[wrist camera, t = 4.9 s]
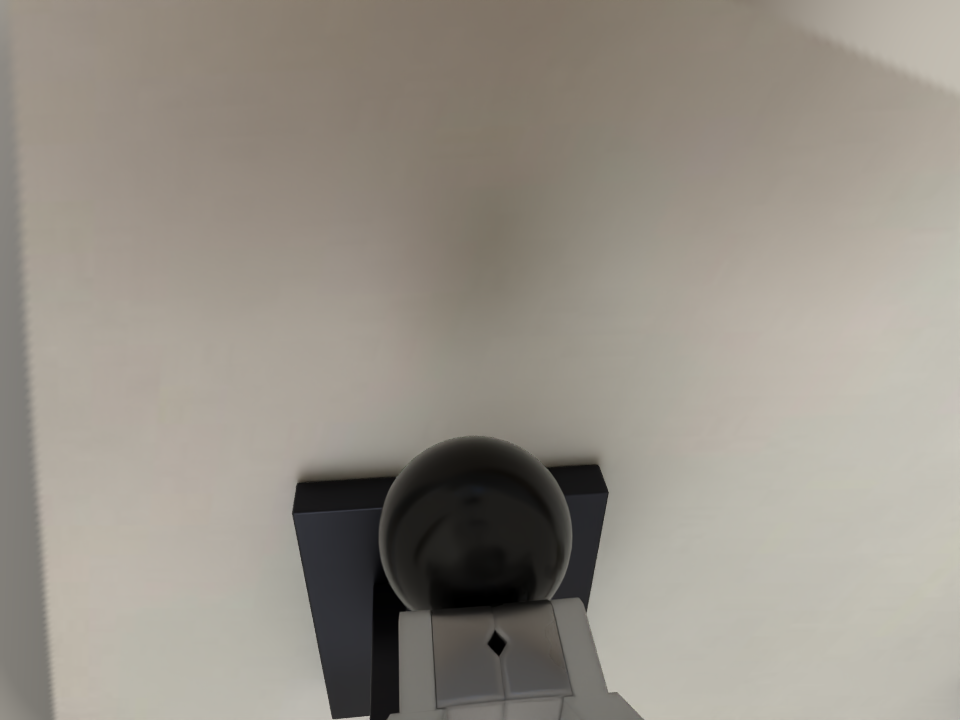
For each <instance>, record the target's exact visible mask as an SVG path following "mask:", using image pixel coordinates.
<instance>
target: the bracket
mask: <svg viewBox="0 0 960 720" xmlns="http://www.w3.org/2000/svg"><path fill="white" fill-rule="evenodd" d="M547 469H548V470H549V471H550V473H551V474H552V475H553V477H554V478H555V480H556V481H557V483H558V485H559V487H560V488H561V490H562V492H563V494H564V497H565V499H566V502H567V505H568V508H569V512H570V517H571V524H572V549H571V554H570V560H569V564H568V567H567V570H566V573H565V576H564V578H563V580H562V582H561V584H560V586H559V588H558V589H557V591H556V592H555V594H554V595H553V597H552V598H551V599H550V600H555V599H565V598H575V597H578V598H580V600H581V601H582V602H583V604H584V607H585V611H586V612H587V607H588V602H589V596H590V591H591V585H592V580H593V575H594V569H595V564H596V558H597V553H598V548H599V542H600V537H601V531H602V526H603V521H604V515H605V510H606V504H607V499H608V494H609V492H608V489H607V486H606V484H605V481H604V478H603V475H602V473H601V470H600V467H599V465H585V466H568V467H552V468H547ZM395 479H396V477H387V478H370V479H354V480H337V481H321V482H304V483H297V485H296V492H295V498H294V504H293V511H292V515H293V520H294V525H295V530H296V535H297V540H298V546H299V551H300V556H301V561H302V566H303V571H304V576H305V581H306V587H307V592H308V597H309V602H310V607H311V612H312V617H313V623H314V628H315V633H316V638H317V643H318V648H319V653H320V658H321V664H322V669H323V674H324V679H325V684H326V689H327V694H328V699H329V705H330V710H331V715H332V719H341V718H352V717H362V716H370V720H387V719H388V717H389V715H390V714H395V713H400V708H399V614H400V612H406V611H410V610H409V609H408V608H407V607H406V606H405V605H404V604H403V603H402V602H401V600H400V599H399V598H398V597H397V595H396V594H395V592H394V591H393V589H392V587H391V586H390V584H389V582H388V579H387V577H386V575H385V572H384V570H383V567H382V563H381V559H380V554H379V546H378V525H379V519H380V514H381V510H382V507H383V504H384V500H385V498H386V495H387V493H388V491H389V489H390V487H391V485H392V484H393V482H394V480H395Z"/></svg>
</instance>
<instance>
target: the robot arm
mask: <svg viewBox="0 0 960 720" xmlns="http://www.w3.org/2000/svg"><path fill="white" fill-rule="evenodd" d="M399 708H400V713H395V714H390V715H389V717H388V719H387V720H644V719H643V718H642V717H641V716H640V715H639V714H638V713H637V712H636V711H635V710H634V709H633V708H632V707H631V706H630V705H629V704H628V703H627V702H626V701H625V700H624V699H623V698H622V697H621V696H620V695H619V694H618V692H614V693H608V690H607V686H606V683H605V679H604V675H603V672H602V668H601V665H600V661H599V658H598V654H597V650H596V647H595V643H594V640H593V636H592V632H591V629H590V625H589V622H588V618H587V614H586V611H585V607H584V604H583V602H582V601H581V600H580V598H578V597H575V598H565V599H555V600H548V599H545V600H535V601H524V602H514V603H504V604H494V605H490V606H479V607H465V608H450V609H436V610H431V612H430V610H418V611H406V612H400V614H399Z"/></svg>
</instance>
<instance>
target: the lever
mask: <svg viewBox="0 0 960 720" xmlns="http://www.w3.org/2000/svg"><path fill="white" fill-rule="evenodd" d="M378 546H379V554H380V559H381V563H382V567H383V570H384V572H385V575H386V577H387V579H388V582H389V584H390V586H391V587H392V589H393V591H394V592H395V594H396V595H397V597H398V598H399V599H400V600H401V602H402V603H403V604H404V605H405V606H406V607H407V608H408V609H409V610H410V611H418V610H430V612H431V610H436V609H450V608H465V607H479V606H490V605H494V604H504V603H514V602H524V601H535V600H545V599H548V600H550V599H551V598H552V597H553V595H554V594H555V592H556V591H557V589H558V588H559V586H560V584H561V582H562V580H563V578H564V576H565V573H566V570H567V567H568V564H569V560H570V554H571V549H572V524H571V517H570V512H569V508H568V505H567V502H566V499H565V497H564V494H563V492H562V490H561V488H560V487H559V485H558V483H557V481H556V480H555V478H554V477H553V475H552V474H551V473H550V471H549V470H548V469H547V468H546V467H545V466H544V465H543V464H542V463H541V462H540V461H539V460H538V459H537V458H535V457H534V456H533V455H532V454H530V453H529V452H527V451H526V450H524V449H522V448H521V447H519V446H517V445H514V444H512V443H510V442H507V441H504V440H501V439H497V438H493V437H486V436H465V437H457V438H453V439H449V440H446V441H443V442H441V443H438V444H436V445H434V446H432V447H430V448H428V449H426V450H425V451H423V452H422V453H420V454H419V455H418V456H416V457H415V458H414V459H413V460H412V461H411V462H410V463H408V464H407V465H406V466H405V468H404V469H403V470H402V471H401V472H400V474H399V475H398V476H397V477H396V479H395V480H394V482H393V484H392V485H391V487H390V489H389V491H388V493H387V495H386V498H385V500H384V504H383V507H382V510H381V514H380V519H379V525H378Z"/></svg>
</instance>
